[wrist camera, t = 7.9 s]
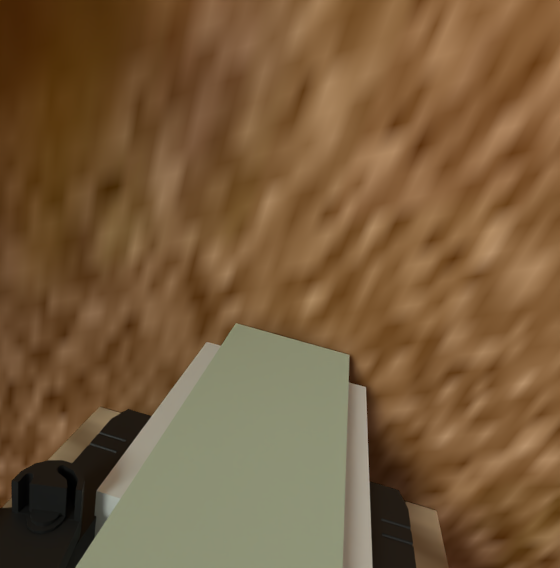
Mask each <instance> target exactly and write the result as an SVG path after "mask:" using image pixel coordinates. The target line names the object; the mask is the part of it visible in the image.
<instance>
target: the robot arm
mask: <svg viewBox="0 0 560 568" xmlns="http://www.w3.org/2000/svg"><path fill="white" fill-rule="evenodd" d="M220 347H221V346H220V345H216V344H213V343H209V342H206V343H205V345H204V346H203V348H202V349H201V350H200V352H199V353H198V354H197V356H196V357H195V358H194V360H193V361H192V362H191V364H190V365H189V366H188V368H187V369H186V370H185V372H184V373H183V375H182V376H181V377H180V379H179V380H178V381H177V383H176V384H175V385H174V387H173V388H172V389H171V391H170V392H169V393H168V395H167V396H166V398H165V399H164V400H163V402H162V403H161V404H160V406H159V407H158V408H157V410H156V411H155V412H154V414H153V415H152V416H149V415H146V414H143V413H139V412H136V411H133V410H129V409H128V410H126V411H124V412H122V413H120V414H119V415H117V416H115V417H113V418H111V420H110V421H109V422H108V423H107V424H106V425H105V426H104V427H103V429H102V430H101V431H100V433H99V434H97V435H96V437H95V438H94V439H93V440H92V441H91V442H90V445H89V446H87V447H86V448H85V449H84V450H83V451H82V453H81V454H80V455H79V456H78V457H77V458H76V459H75V460H74V462H73V463H70V462H67V461H64V460H48V461H44V462H40V463H36V464H34V465H32V466H30V467H28V468H26V469H24V470H23V471H21V472H20V473H19V474H18V475H17V476H16V477H15V478H14V479H13V480H12V507H8V508H0V568H75V567H76V566H77V564H78V563H79V561H80V560H81V558H82V557H83V555H84V554H85V552H86V551H87V549H88V547H89V546H90V544H91V543H92V541H93V540H94V538H95V537H96V535H97V534H98V532H99V531H100V529H101V528H102V526H103V525H104V523H105V522H106V520H107V519H108V517H109V516H110V514H111V512H112V511H113V509H114V508H115V506H116V505H117V503H118V502H119V500H120V499H121V497H122V496H123V494H124V493H125V491H126V490H127V488H128V487H129V485H130V484H131V482H132V481H133V479H134V477H135V476H136V474H137V473H138V471H139V470H140V468H141V467H142V465H143V464H144V462H145V461H146V459H147V458H148V456H149V455H150V453H151V452H152V450H153V449H154V447H155V446H156V444H157V443H158V441H159V439H160V438H161V436H162V435H163V433H164V432H165V430H166V429H167V427H168V426H169V424H170V423H171V421H172V420H173V418H174V417H175V415H176V414H177V412H178V411H179V409H180V408H181V406H182V404H183V403H184V401H185V400H186V398H187V397H188V395H189V394H190V392H191V391H192V389H193V388H194V386H195V385H196V383H197V382H198V380H199V379H200V377H201V376H202V374H203V373H204V371H205V369H206V368H207V366H208V365H209V363H210V362H211V360H212V359H213V357H214V356H215V354H216V353H217V351H218V350H219V348H220ZM410 528H411V525H410V517H409V510H408V507H407V505H406V503H405V502H404V500H403V498H402V496H401V494H400V492H399V491H398V490H396V489H393V488H389V487H386V486H383V485H380V484H376V483H373V482H370V481H369V457H368V429H367V402H366V387H363V386H360V385H356V384H353V383H349V385H348V416H347V447H346V478H345V508H344V539H343V568H416V561H415V553H414V547H413V539H412V532H411V531H410Z"/></svg>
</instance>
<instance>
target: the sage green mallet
mask: <svg viewBox="0 0 560 568" xmlns="http://www.w3.org/2000/svg"><path fill="white" fill-rule="evenodd" d="M348 385H349V355H348V354H344V353H341V352H337V351H334V350H330V349H327V348H323V347H319V346H316V345H312V344H309V343H305V342H301V341H298V340H294V339H291V338H287V337H284V336H280V335H276V334H273V333H269V332H266V331H262V330H259V329H255V328H251V327H248V326H244V325H241V324H237V323H236V324H235V325H234V327H233V328H232V330H231V331H230V333H229V334H228V336H227V338H226V339H225V341H224V342H223V344H222V345H221V347H220V348H219V350H218V351H217V353H216V354H215V356H214V357H213V359H212V360H211V362H210V363H209V365H208V366H207V368H206V369H205V371H204V373H203V374H202V376H201V377H200V379H199V380H198V382H197V383H196V385H195V386H194V388H193V389H192V391H191V392H190V394H189V395H188V397H187V398H186V400H185V401H184V403H183V404H182V406H181V408H180V409H179V411H178V412H177V414H176V415H175V417H174V418H173V420H172V421H171V423H170V424H169V426H168V427H167V429H166V430H165V432H164V433H163V435H162V436H161V438H160V439H159V441H158V443H157V444H156V446H155V447H154V449H153V450H152V452H151V453H150V455H149V456H148V458H147V459H146V461H145V462H144V464H143V465H142V467H141V468H140V470H139V471H138V473H137V474H136V476H135V477H134V479H133V481H132V482H131V484H130V485H129V487H128V488H127V490H126V491H125V493H124V494H123V496H122V497H121V499H120V500H119V502H118V503H117V505H116V506H115V508H114V509H113V511H112V512H111V514H110V516H109V517H108V519H107V520H106V522H105V523H104V525H103V526H102V528H101V529H100V531H99V532H98V534H97V535H96V537H95V538H94V540H93V541H92V543H91V544H90V546H89V547H88V549H87V551H86V552H85V554H84V555H83V557H82V558H81V560H80V561H79V563H78V564H77V566H76V567H75V568H343V539H344V508H345V478H346V447H347V416H348Z"/></svg>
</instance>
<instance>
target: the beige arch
mask: <svg viewBox="0 0 560 568" xmlns="http://www.w3.org/2000/svg"><path fill="white" fill-rule="evenodd" d="M119 414H120V413H119V412H115V411H112V410H109V409H106V408H102V407H99V408H98V409H97V410H96V411H95V412H94V413H93V414H92V415H91V416H90V417H89V418H88V419H87V420H86V421H85V422H84V423H83V424H82V425H81V426H80V427H79V428H78V430H77V431H76V432H75V433H74V434H73V435H72V436H71V437H70V438H69V439H68V440H67V441H66V442H65V443H64V444H63V445H62V446H61V447H60V448H59V449H58V450H57V451H56V452H55V453H54V454H53V455H52V456H51V457H50V459H49V460H64V461H67V462H70V463H73V462H74V460H75V459H76V458H77V457H78V456H79V455H80V454H81V453H82V451H83V450H84V449H85V448H86V447H87V446H89V445H90V442H91V441H92V440H93V439H94V438H95V437H96V435H97V434H99V433H100V431H101V430H102V429H103V427H104V426H105V425H106V424H107V423H108V422H109V421H110V420H111V418H113V417H115V416H117V415H119ZM405 503H406V505H407V507H408V510H409V517H410V525H411V528H410V531H411V532H412V539H413V547H414V553H415V561H416V568H449V567H448V562H447V557H446V553H445V548H444V543H443V539H442V534H441V529H440V525H439V520H438V515H437V511H436V510H432V509H429V508H426V507H423V506H419V505H416V504H413V503H410V502H405ZM8 507H12V498H11V499H10V500H9V501H8V502H7V503H6V504H5V505H4V506H3V507H2V508H8Z"/></svg>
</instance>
